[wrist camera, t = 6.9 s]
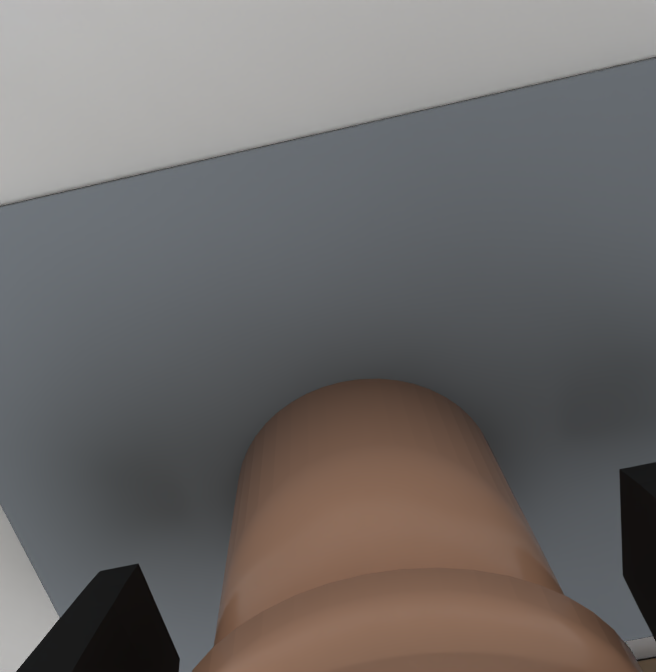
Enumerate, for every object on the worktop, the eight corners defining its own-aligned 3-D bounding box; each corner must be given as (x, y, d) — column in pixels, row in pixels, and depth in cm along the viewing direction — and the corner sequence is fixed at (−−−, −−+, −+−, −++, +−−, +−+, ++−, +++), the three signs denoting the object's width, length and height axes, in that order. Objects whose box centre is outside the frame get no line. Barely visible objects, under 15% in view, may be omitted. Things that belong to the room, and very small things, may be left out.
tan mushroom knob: (500, 327, 11) (708, 596, 5) (528, 576, 13) (693, 944, 8) (177, 396, 11) (55, 720, 6) (259, 627, 13) (231, 1020, 8)
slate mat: (754, 34, 9) (763, 34, 9) (722, 615, 14) (728, 622, 14) (-131, 236, 10) (-139, 239, 10) (122, 724, 15) (120, 733, 15)
